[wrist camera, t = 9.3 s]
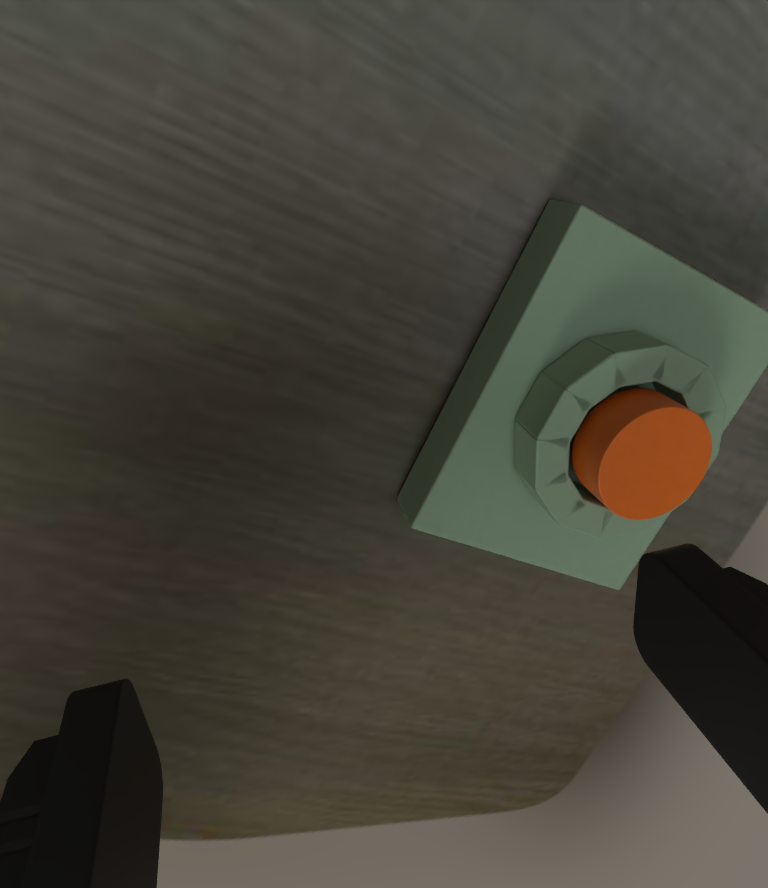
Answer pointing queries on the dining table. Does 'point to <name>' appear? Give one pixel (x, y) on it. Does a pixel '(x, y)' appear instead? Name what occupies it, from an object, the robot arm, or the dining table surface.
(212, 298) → the dining table surface
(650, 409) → the power button
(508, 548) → the block
